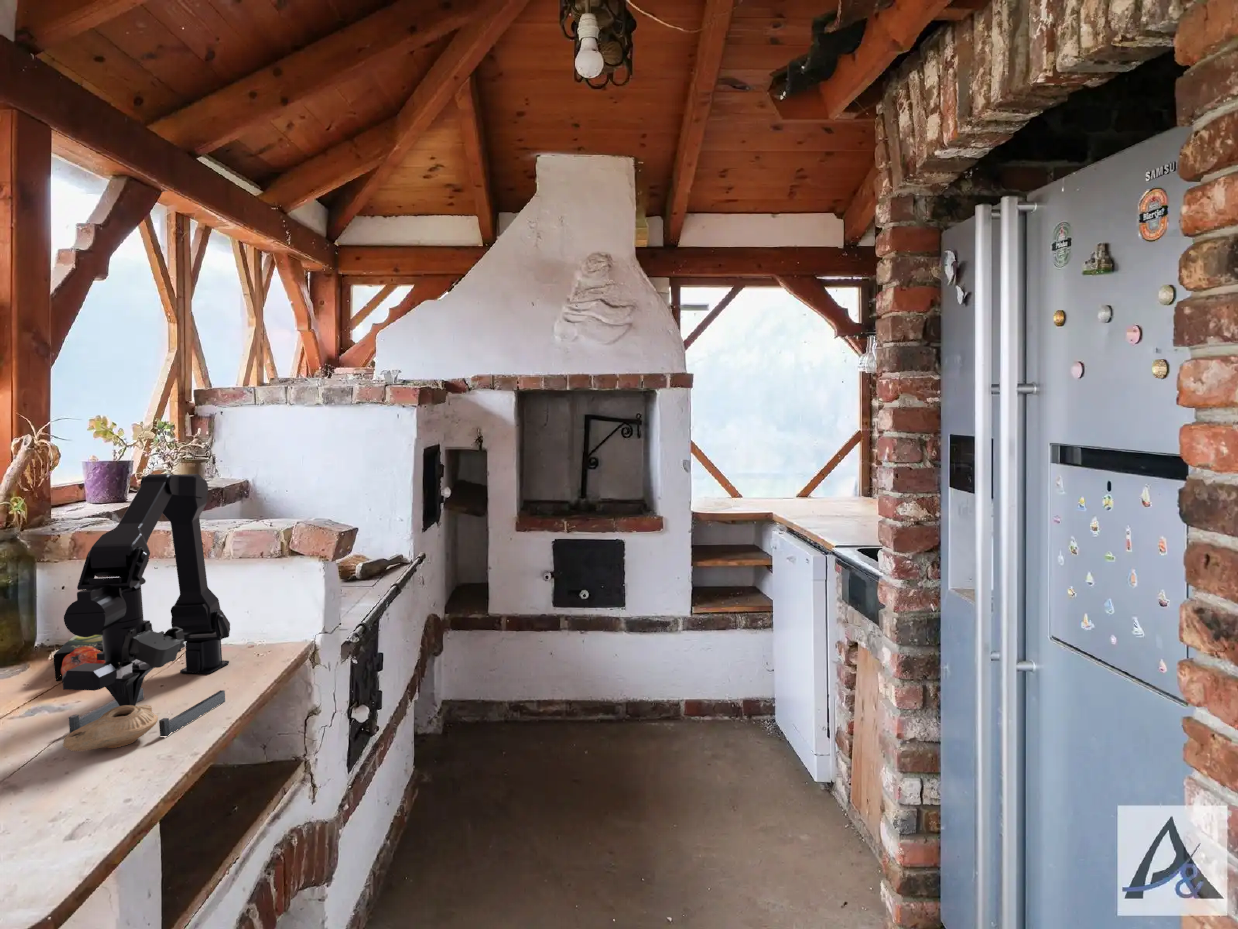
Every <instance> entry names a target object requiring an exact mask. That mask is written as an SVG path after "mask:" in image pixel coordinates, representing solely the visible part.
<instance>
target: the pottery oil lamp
mask: <svg viewBox="0 0 1238 929" xmlns="http://www.w3.org/2000/svg"><path fill="white" fill-rule="evenodd" d="M152 709H153V706H152V705H150V704H142V705H141V704H140V705H138V706H137V705H135V706H133V705H123V706H119V707H116V708H113V709H111V710H110V711H108V712H107V713H105V714H103V716H101V717H100V718H99V719H97V720H95V721H93V722H91V723H89V724H87V725H85V726H83V727H81V728H79V729H77V730H75V731H73V732H71V733H70V732H69V733H68V734H67V735H65V737H64V738H63V743H62V746H63V748H64V749H66V750H69V751H71V752H84V751H91V750H97V749H102V748H106V749H117V747H118V748H122V747H124V746H125V747H126V746H128V744H129V745H131V744H132V743H134V742H136V740H138V739H140V738H141V737H143V736H144V735H145V734H147V732H149V731H150V730H151V729H153V727H155V725H156V724H157V723H158V722H159V720H158V719H159V716H158V715H157V714H154V713H153V712H152V711H153V710H152ZM121 746H122V747H121Z"/></svg>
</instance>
